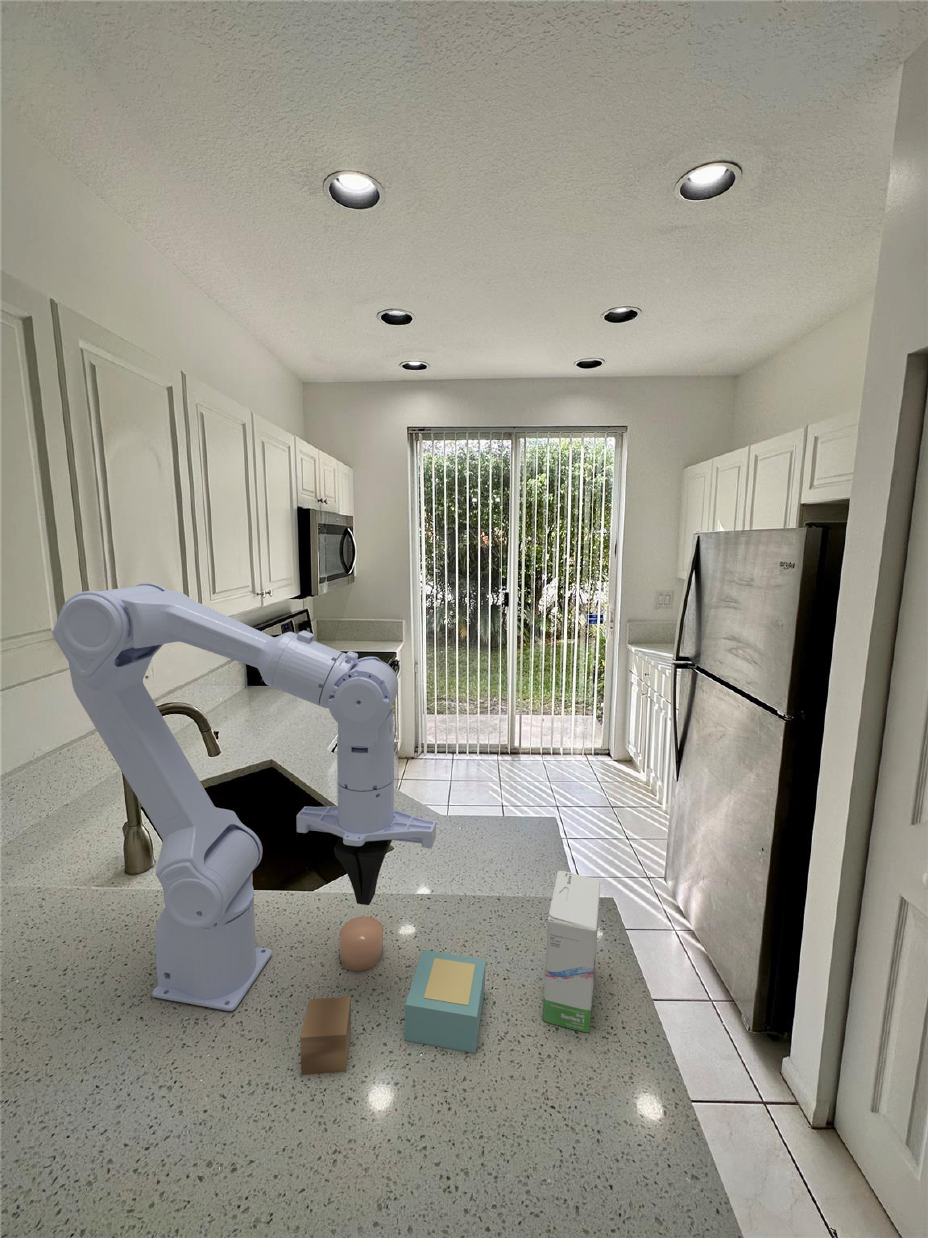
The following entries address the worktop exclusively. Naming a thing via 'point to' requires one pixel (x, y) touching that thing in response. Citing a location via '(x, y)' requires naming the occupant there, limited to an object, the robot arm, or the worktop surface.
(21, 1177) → the worktop surface
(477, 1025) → the teal block
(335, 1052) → the walnut cube
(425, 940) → the worktop surface
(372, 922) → the peach rounded dome
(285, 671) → the robot arm
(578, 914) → the ink box
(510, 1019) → the worktop surface
